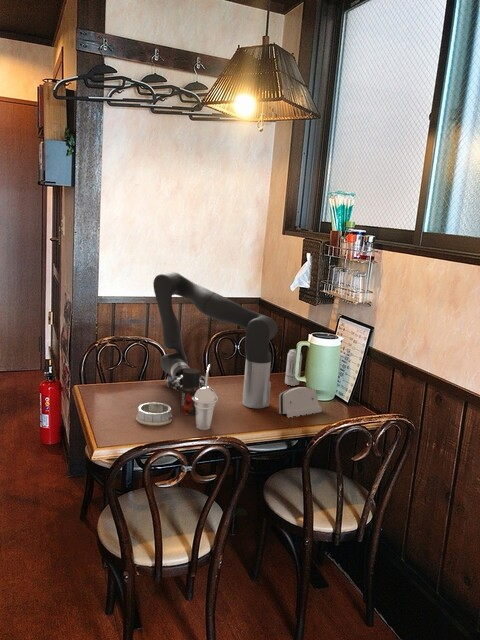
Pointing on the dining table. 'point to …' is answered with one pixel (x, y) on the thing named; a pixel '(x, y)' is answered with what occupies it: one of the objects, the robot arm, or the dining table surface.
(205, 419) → the cup with straw
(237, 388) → the dining table surface
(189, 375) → the deodorant
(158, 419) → the silver bowl
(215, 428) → the dining table surface
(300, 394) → the hinge
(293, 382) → the energy drink can
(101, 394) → the dining table surface
